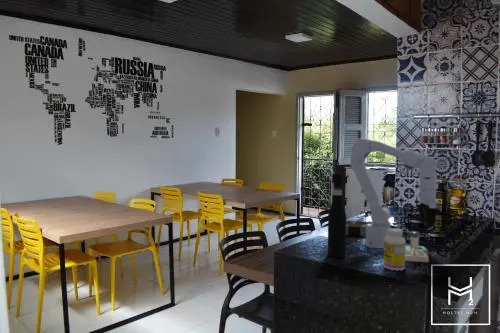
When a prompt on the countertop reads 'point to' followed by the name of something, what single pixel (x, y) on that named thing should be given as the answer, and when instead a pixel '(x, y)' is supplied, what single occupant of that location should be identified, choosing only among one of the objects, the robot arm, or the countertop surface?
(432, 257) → the countertop surface
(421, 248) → the tensioner block
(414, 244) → the spice jar
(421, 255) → the tray
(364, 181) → the robot arm
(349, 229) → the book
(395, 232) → the supplement bottle
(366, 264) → the countertop surface
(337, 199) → the wine bottle
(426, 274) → the countertop surface
